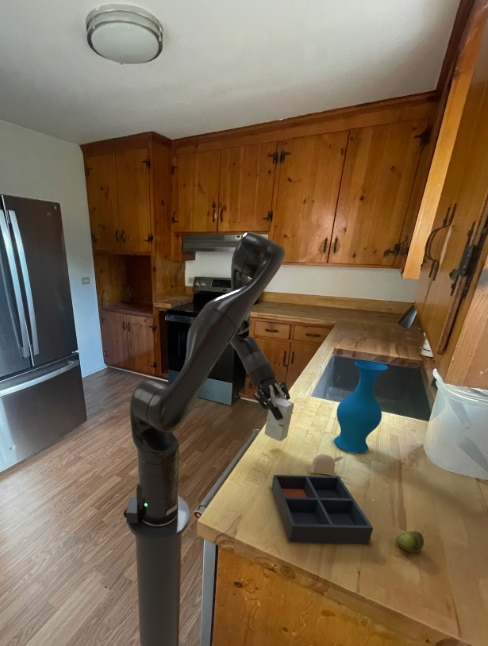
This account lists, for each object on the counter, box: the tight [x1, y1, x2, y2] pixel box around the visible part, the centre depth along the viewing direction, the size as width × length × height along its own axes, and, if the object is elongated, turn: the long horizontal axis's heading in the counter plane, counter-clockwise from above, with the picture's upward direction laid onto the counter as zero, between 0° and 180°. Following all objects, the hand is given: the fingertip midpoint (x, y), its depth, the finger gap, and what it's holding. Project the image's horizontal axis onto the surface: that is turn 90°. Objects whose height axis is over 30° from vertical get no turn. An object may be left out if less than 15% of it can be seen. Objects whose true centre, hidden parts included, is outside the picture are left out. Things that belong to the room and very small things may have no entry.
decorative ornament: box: [309, 453, 344, 476], centre depth 93 cm, size 4×8×5 cm, turn 76°
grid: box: [270, 474, 374, 545], centre depth 78 cm, size 17×17×5 cm
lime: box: [395, 530, 425, 553], centre depth 69 cm, size 4×5×5 cm
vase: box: [333, 359, 389, 454], centre depth 102 cm, size 12×13×28 cm
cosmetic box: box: [264, 397, 295, 442], centre depth 101 cm, size 6×4×12 cm
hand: (285, 416), depth 99 cm, fingers closed on cosmetic box, 4 cm apart
